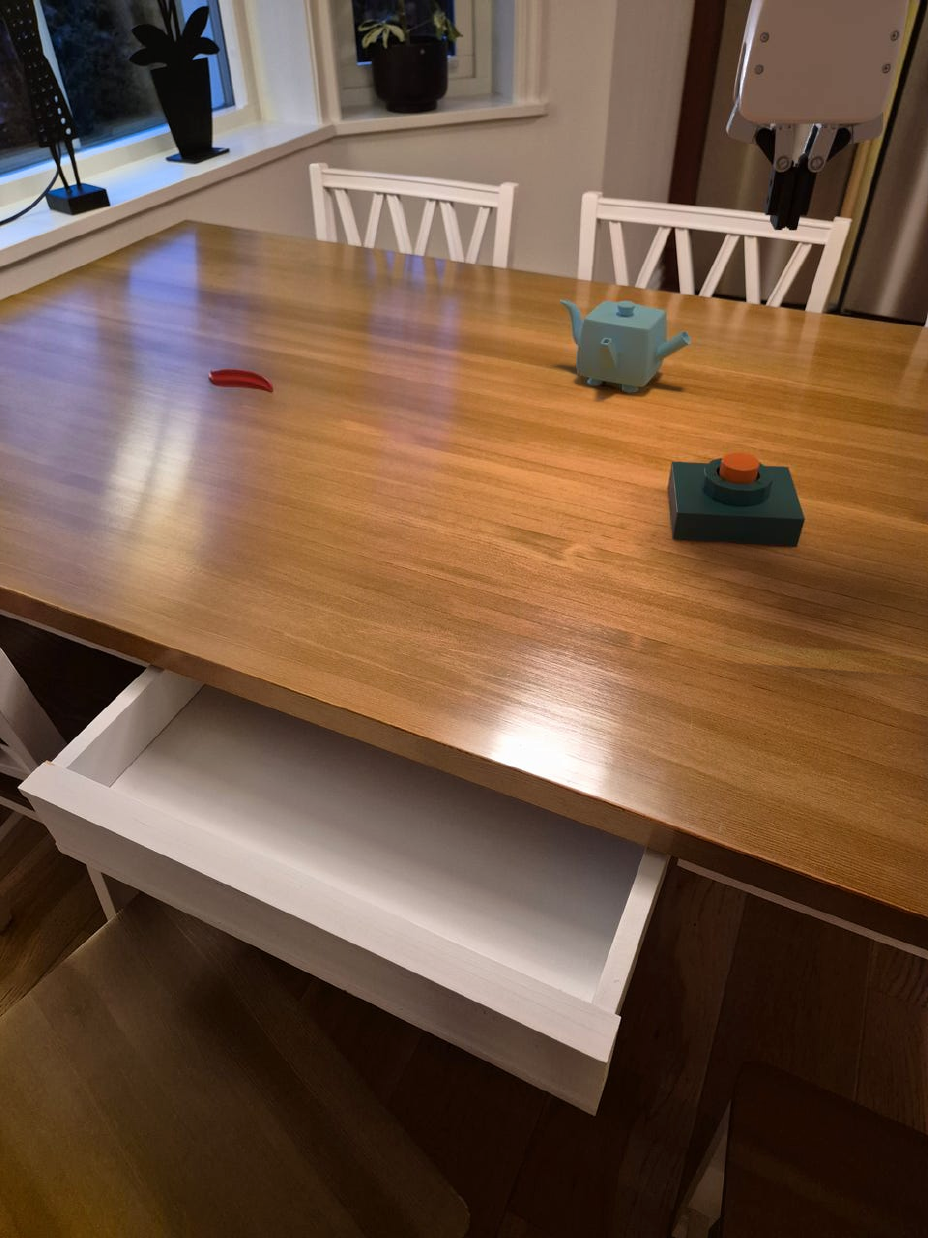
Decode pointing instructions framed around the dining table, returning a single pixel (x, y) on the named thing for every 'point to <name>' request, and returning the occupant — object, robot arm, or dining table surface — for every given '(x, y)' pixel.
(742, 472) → the orange round cap
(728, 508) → the teal box orange button
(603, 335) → the teapot
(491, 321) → the dining table surface
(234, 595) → the dining table surface
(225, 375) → the cayenne pepper
